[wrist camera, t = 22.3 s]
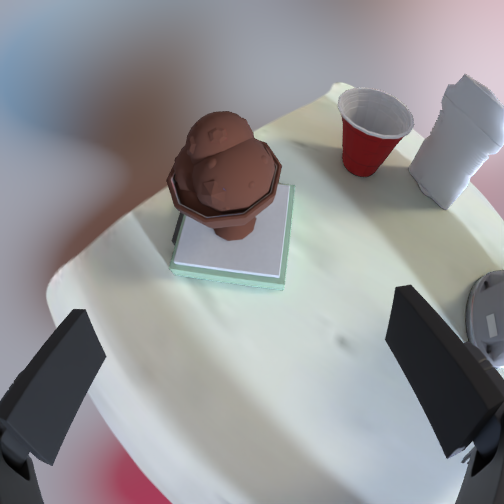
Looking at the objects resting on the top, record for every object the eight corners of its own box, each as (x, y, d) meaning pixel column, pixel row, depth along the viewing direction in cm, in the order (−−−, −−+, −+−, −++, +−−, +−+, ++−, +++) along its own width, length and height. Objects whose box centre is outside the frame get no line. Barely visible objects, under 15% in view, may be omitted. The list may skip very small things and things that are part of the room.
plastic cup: (314, 145, 43) (324, 87, 32) (368, 137, 43) (385, 84, 32) (344, 197, 38) (365, 138, 27) (399, 184, 39) (429, 132, 28)
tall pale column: (453, 206, 37) (522, 117, 17) (443, 216, 36) (518, 122, 16) (413, 161, 41) (462, 63, 21) (401, 169, 40) (451, 64, 20)
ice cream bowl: (174, 221, 35) (127, 137, 21) (240, 172, 37) (228, 80, 23) (225, 281, 31) (193, 210, 17) (297, 221, 34) (312, 128, 20)
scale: (293, 195, 39) (295, 181, 36) (283, 290, 34) (285, 282, 31) (194, 186, 40) (189, 172, 38) (168, 274, 35) (160, 265, 32)
